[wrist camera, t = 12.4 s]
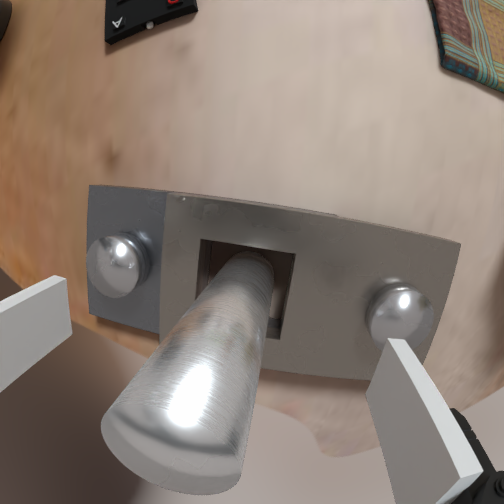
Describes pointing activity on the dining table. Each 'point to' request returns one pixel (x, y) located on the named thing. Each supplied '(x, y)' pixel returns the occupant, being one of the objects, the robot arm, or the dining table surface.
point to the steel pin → (198, 387)
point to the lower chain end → (133, 254)
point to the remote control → (141, 15)
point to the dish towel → (471, 38)
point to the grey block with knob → (316, 281)
